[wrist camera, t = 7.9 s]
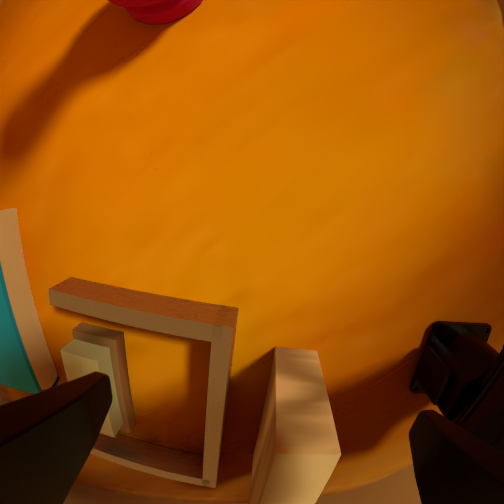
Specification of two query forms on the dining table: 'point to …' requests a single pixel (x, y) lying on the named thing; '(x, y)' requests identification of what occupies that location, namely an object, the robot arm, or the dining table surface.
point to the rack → (175, 323)
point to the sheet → (294, 433)
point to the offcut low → (119, 366)
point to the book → (20, 318)
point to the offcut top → (85, 362)
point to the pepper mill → (158, 9)
